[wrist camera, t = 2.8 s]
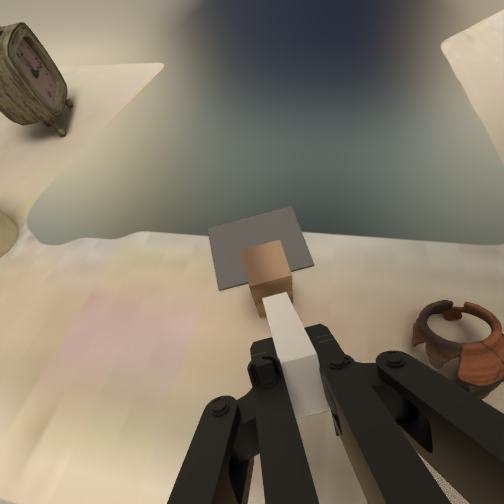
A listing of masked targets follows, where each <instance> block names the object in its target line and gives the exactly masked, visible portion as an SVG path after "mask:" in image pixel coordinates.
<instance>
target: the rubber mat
mask: <svg viewBox="0 0 504 504" xmlns="http://www.w3.org/2000/svg"><path fill="white" fill-rule="evenodd" d="M208 234H209V240H210V245H211V250H212V256H213V261H214V267H215V272H216V277H217V283H218V288H219V291H221V290H225V289H228V288H232V287H236V286H240V285H243V284H247V283H248V279H247V275H246V271H245V266H244V262H243V258H242V254H241V250H243V249H246V248H250V247H254V246H258V245H261V244H265V243H269V242H273V241H277V240H280V241H281V244H282V247H283V250H284V253H285V256H286V259H287V262H288V265H289V268H290V271H291V272H292V271H296V270H300V269H304V268H307V267H311V266H314V263H313V261H312V258H311V255H310V253H309V250H308V247H307V245H306V242H305V240H304V237H303V234H302V232H301V229H300V227H299V224H298V221H297V219H296V216H295V214H294V211H293V208H292V206H290V207H286V208H283V209H279V210H275V211H271V212H268V213H264V214H261V215H256V216H253V217H249V218H245V219H241V220H238V221H234V222H230V223H226V224H223V225H219V226H215V227H211V228H208Z"/></svg>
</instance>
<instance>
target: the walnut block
mask: <svg viewBox="0 0 504 504" xmlns="http://www.w3.org/2000/svg"><path fill="white" fill-rule="evenodd" d="M241 254H242V258H243V262H244V266H245V271H246V275H247V279H248V283H249V287H250V290H251V293H252V295H253V298H254V301H255V304H256V307H257V310H258V313H259V316H260V318H265V317H267V315H266V311H265V308H264V304H263V300H262V298H265V297H269V296H273V295H276V294H280V293H284V292H287V294H288V296H289V299H290V301H291V303H292V305H293V294H292V274H291V271H290V268H289V265H288V262H287V259H286V256H285V253H284V250H283V247H282V244H281V241H280V240H277V241H273V242H269V243H265V244H261V245H258V246H254V247H250V248H246V249H243V250H241Z"/></svg>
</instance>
